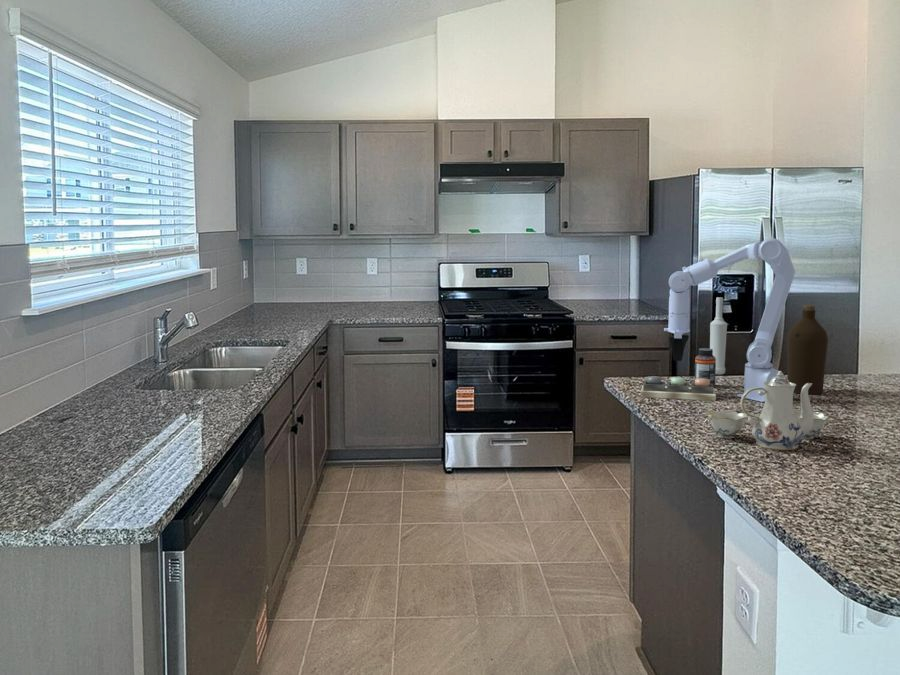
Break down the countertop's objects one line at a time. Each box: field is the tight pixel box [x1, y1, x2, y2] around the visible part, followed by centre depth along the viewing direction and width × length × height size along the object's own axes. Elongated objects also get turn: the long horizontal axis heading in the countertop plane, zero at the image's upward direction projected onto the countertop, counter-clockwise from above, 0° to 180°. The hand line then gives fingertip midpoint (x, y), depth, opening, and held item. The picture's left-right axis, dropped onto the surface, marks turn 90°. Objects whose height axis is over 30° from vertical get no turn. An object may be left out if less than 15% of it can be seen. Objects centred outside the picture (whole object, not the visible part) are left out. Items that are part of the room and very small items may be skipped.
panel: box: [640, 380, 717, 402], centre depth 219 cm, size 20×10×3 cm, turn 73°
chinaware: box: [702, 370, 836, 451], centre depth 168 cm, size 28×17×17 cm, turn 92°
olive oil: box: [786, 304, 829, 396], centre depth 221 cm, size 11×11×25 cm
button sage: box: [670, 376, 687, 386], centre depth 218 cm, size 4×4×2 cm
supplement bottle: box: [694, 347, 716, 388], centre depth 232 cm, size 6×6×11 cm
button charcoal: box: [646, 375, 663, 385], centre depth 220 cm, size 4×4×2 cm
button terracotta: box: [694, 378, 710, 387], centre depth 217 cm, size 4×4×2 cm
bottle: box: [709, 296, 728, 375], centre depth 253 cm, size 5×5×25 cm
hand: (677, 360), depth 222 cm, fingers closed
